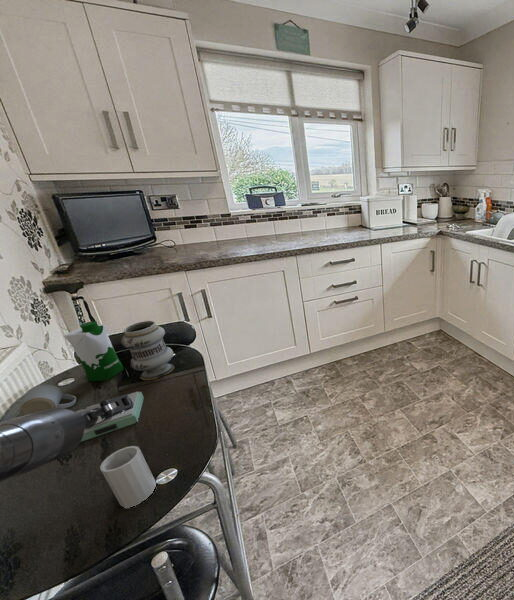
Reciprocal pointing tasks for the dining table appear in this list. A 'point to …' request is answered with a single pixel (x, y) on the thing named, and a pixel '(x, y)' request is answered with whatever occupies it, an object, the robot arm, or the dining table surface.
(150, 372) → the apothecary jar
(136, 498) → the white cup
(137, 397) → the kitchen scale
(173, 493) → the dining table surface
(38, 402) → the ceramic mug
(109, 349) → the milk carton
